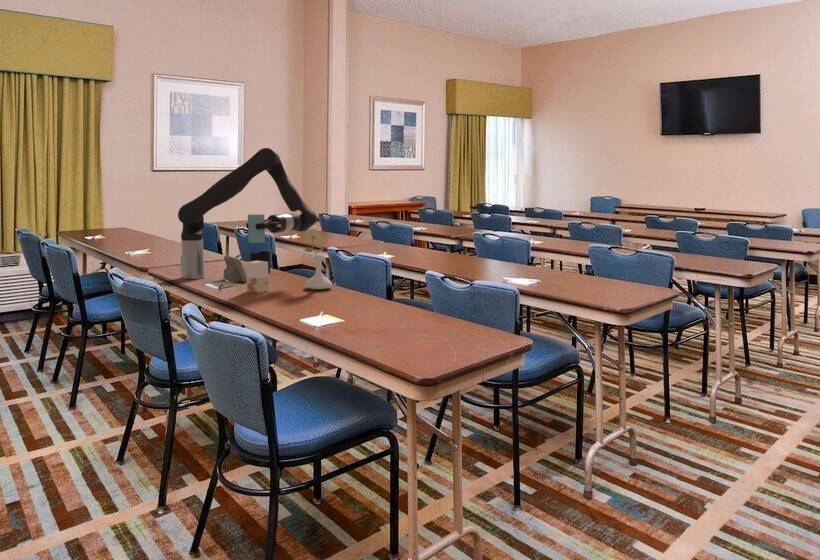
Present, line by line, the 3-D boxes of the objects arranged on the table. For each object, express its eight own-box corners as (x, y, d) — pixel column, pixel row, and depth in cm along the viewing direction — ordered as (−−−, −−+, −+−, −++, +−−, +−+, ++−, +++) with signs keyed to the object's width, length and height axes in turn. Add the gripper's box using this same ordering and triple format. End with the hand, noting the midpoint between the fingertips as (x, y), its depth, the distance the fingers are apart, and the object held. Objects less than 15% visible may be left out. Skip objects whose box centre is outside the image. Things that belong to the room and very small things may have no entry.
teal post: (248, 242, 262) (247, 214, 260) (256, 241, 266) (255, 214, 264) (257, 243, 259) (256, 215, 258) (264, 241, 263) (264, 214, 261)
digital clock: (249, 283, 284) (248, 258, 282) (227, 284, 281) (226, 259, 279) (242, 277, 299) (241, 254, 297) (222, 278, 295) (221, 254, 293)
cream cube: (246, 277, 264) (246, 262, 263) (257, 275, 269) (256, 260, 268) (258, 278, 261) (257, 263, 260) (268, 276, 266) (268, 261, 265)
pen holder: (268, 275, 305) (267, 253, 303) (248, 274, 305) (247, 253, 303) (272, 272, 314) (272, 251, 312) (253, 271, 314) (252, 250, 313)
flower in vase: (337, 288, 275) (337, 228, 271) (320, 292, 265) (320, 230, 261) (313, 285, 281) (312, 226, 277) (296, 289, 272) (294, 228, 268)
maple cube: (247, 291, 265) (246, 277, 264) (257, 289, 270) (257, 275, 269) (258, 293, 262) (258, 278, 261) (268, 291, 267) (268, 276, 266)
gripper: (267, 213, 276) (237, 216, 262) (293, 215, 269) (264, 217, 255) (267, 231, 278) (238, 234, 263) (293, 233, 271) (265, 237, 256)
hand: (251, 226), depth 259 cm, fingers closed on teal post, 4 cm apart
